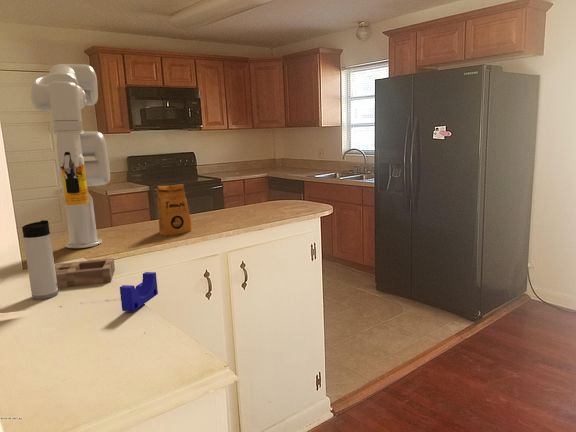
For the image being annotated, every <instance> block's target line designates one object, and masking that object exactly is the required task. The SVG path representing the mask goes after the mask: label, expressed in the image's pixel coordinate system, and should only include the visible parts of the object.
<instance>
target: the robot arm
mask: <svg viewBox="0 0 576 432" xmlns="http://www.w3.org/2000/svg"><path fill="white" fill-rule="evenodd" d="M98 89H99V88H98V76H97V73H96V72H95V69H94V68H93V67H92V66H91V65H89V64H85V63H84V64H83V63H82V64H79V63H57V64H55V65H53V66H52V67H51V68H50V69H49V72H48V74H46V75H44V76H40V77H37V78H35V79H34V80H33V81H32V83H31V89H30V98H31V102H32V104H33V107H34V108H35V110H37V111H41V112H50V114H51V122H52V130H53V134H56V152H57V163H58V165H57V166H58V173H57V174H58V178H59V181H60V185H61V189H62V191H63V198H64V205H65V212H66V213H65V214H66V220H67V226H68V227H67V228H68V235H69V241H68V242H67V243H66V244H65V246H66V248H68V249H85V248H92V247H95V246H98V244H99V245H100V243H101V244H102V243H103V239H102V238H99V237H98V232H97V226H96V225H97V224H96V215H95V208H94V207H95V206H94V199H93V197H92V195H91V193H89V192H88V199H89V203H88V204H87V206H83V207H73V208H71V207H68V206H67V205H66V201H65V194H64V186H63V178H62V171H61V169H63V168H62V167H64V168H65V181H66V188H67V193H79V192H80V189H79V181H78V178H77V171H76V168H78V167H79V156H80V153H81V154H82V156H83V158H93V159H95V160H93V159H92V160H84V166H85V174H86V182H87V187H94V186H96V187H97V186H104V185H107V184H109V183H110V181H111V169H110V162H109V156H108V155H109V154H108V149H107V148H108V147H107V142H106V139H105V136H104V134H103V133H101V132H100V131H95V130H94V131H93V130H92V131H91V130H89V131H85V130H84V128H83V120H82V112H81V111H82V110H83V109H84V108H85V107H86V106H94V105H96V104H97V102H98V100H99V92H98V91H99V90H98ZM64 161H65V163H64ZM63 165H64V166H63ZM70 165H74V167H70ZM73 170H74V173H73Z"/></svg>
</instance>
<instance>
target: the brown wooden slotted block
mask: <svg viewBox="0 0 576 432" xmlns="http://www.w3.org/2000/svg"><path fill="white" fill-rule="evenodd" d="M54 265H55V272H56V279H57V286H58V287H57V288H58V289H61V288H70V287H71V288H72V287H79V286H88V285H95V284H105V283H106V284H107V283H111V282H112V280H113V277H114V273H115V271H116V270H115V269H116V268H115V267H116V265H115V259H114V257H111V258H102V259H92V260H83V261H72V262H64V263H56V264H55V263H54Z"/></svg>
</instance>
